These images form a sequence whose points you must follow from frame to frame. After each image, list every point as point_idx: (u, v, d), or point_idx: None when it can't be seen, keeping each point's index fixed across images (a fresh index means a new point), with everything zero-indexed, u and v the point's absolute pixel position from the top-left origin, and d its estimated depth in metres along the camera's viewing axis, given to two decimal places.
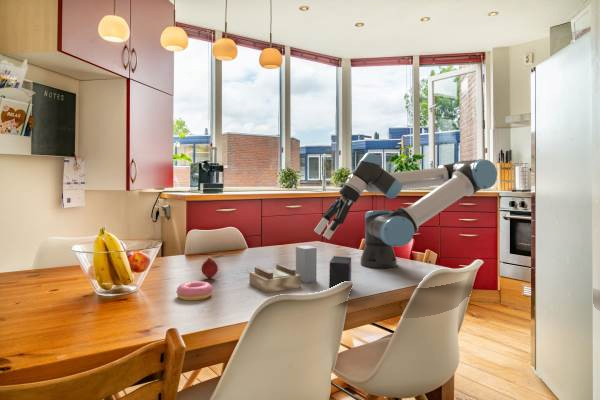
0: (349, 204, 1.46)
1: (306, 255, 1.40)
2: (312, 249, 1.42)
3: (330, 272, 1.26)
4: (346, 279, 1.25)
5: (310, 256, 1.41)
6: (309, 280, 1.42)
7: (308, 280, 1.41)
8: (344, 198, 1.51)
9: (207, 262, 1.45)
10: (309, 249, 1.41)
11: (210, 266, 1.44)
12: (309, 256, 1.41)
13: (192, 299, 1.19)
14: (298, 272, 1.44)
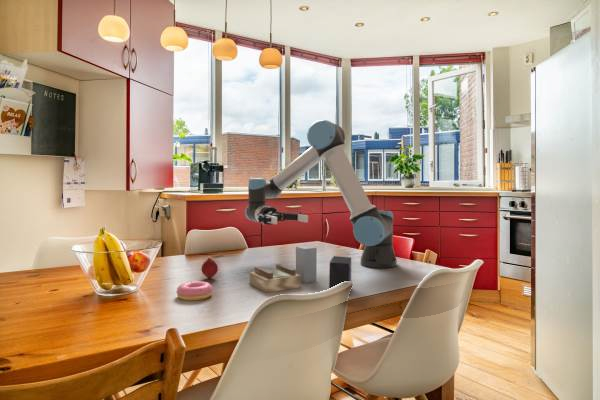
0: (258, 216, 1.61)
1: (306, 255, 1.40)
2: (312, 249, 1.42)
3: (330, 272, 1.26)
4: (346, 279, 1.25)
5: (310, 256, 1.41)
6: (309, 280, 1.42)
7: (308, 280, 1.41)
8: None
9: (207, 262, 1.45)
10: (309, 249, 1.41)
11: (210, 266, 1.44)
12: (309, 256, 1.41)
13: (192, 299, 1.19)
14: (298, 272, 1.44)
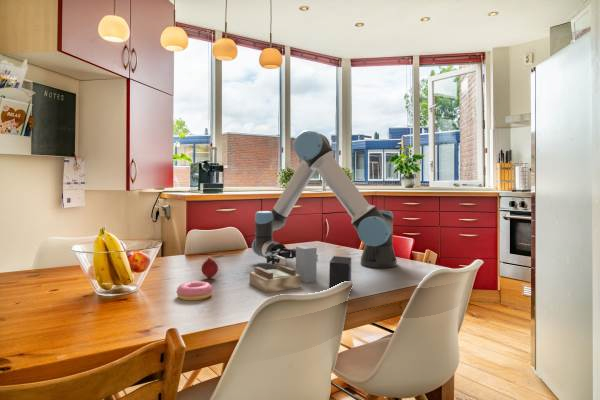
0: (266, 254, 1.55)
1: (306, 255, 1.40)
2: (312, 249, 1.42)
3: (330, 272, 1.26)
4: (346, 279, 1.25)
5: (310, 256, 1.41)
6: (309, 280, 1.42)
7: (308, 280, 1.41)
8: None
9: (207, 262, 1.45)
10: (309, 249, 1.41)
11: (210, 266, 1.44)
12: (309, 256, 1.41)
13: (192, 299, 1.19)
14: (298, 272, 1.44)
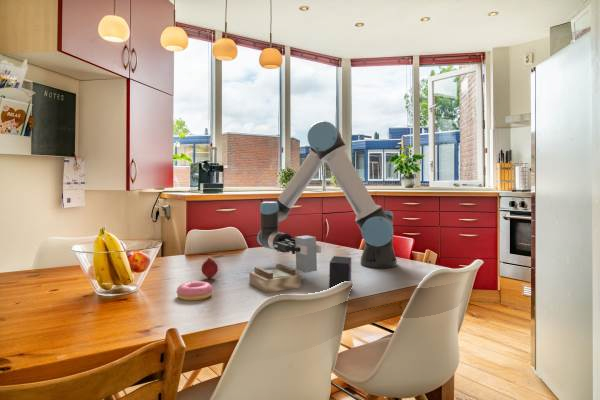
0: (276, 245, 1.49)
1: (305, 245, 1.40)
2: (311, 239, 1.41)
3: (330, 272, 1.26)
4: (346, 279, 1.25)
5: (310, 246, 1.41)
6: (309, 270, 1.41)
7: (308, 270, 1.41)
8: None
9: (207, 262, 1.45)
10: (308, 239, 1.40)
11: (210, 266, 1.44)
12: (308, 245, 1.41)
13: (192, 299, 1.19)
14: (298, 262, 1.44)
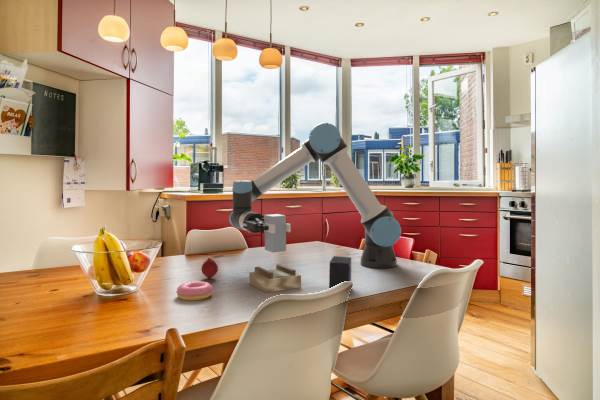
0: (245, 224, 1.42)
1: (274, 223, 1.32)
2: (281, 217, 1.33)
3: (330, 272, 1.26)
4: (346, 279, 1.25)
5: (279, 224, 1.33)
6: (278, 250, 1.34)
7: (277, 250, 1.33)
8: None
9: (207, 262, 1.45)
10: (277, 217, 1.33)
11: (210, 266, 1.44)
12: (277, 224, 1.33)
13: (192, 299, 1.19)
14: (267, 242, 1.36)
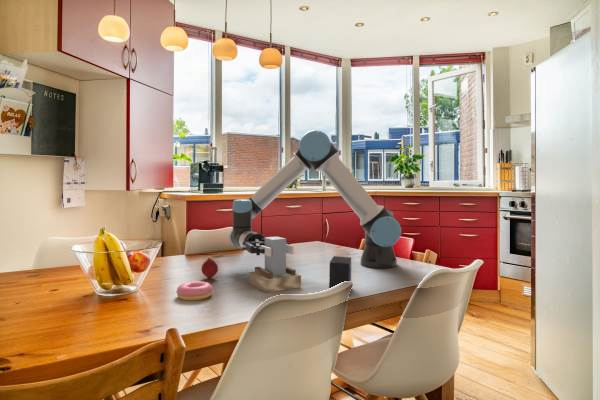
0: (244, 245, 1.42)
1: (274, 247, 1.33)
2: (281, 240, 1.34)
3: (330, 272, 1.26)
4: (346, 279, 1.25)
5: (279, 248, 1.34)
6: (278, 273, 1.34)
7: (277, 273, 1.34)
8: None
9: (207, 262, 1.45)
10: (278, 240, 1.33)
11: (210, 266, 1.44)
12: (277, 247, 1.33)
13: (192, 299, 1.19)
14: (267, 264, 1.36)
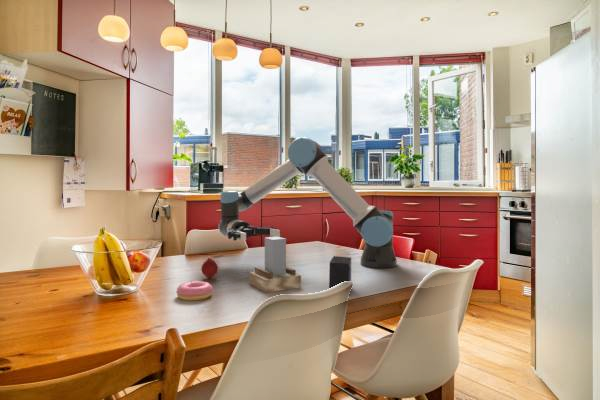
0: None
1: (274, 247, 1.33)
2: (281, 240, 1.34)
3: (330, 272, 1.26)
4: (346, 279, 1.25)
5: (279, 248, 1.34)
6: (278, 273, 1.34)
7: (277, 273, 1.34)
8: None
9: (207, 262, 1.45)
10: (278, 240, 1.33)
11: (210, 266, 1.44)
12: (277, 247, 1.33)
13: (192, 299, 1.19)
14: (267, 264, 1.36)
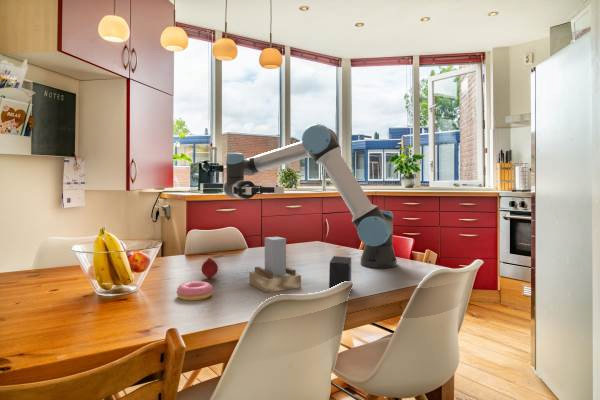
0: None
1: (274, 247, 1.33)
2: (281, 240, 1.34)
3: (330, 272, 1.26)
4: (346, 279, 1.25)
5: (279, 248, 1.34)
6: (278, 273, 1.34)
7: (277, 273, 1.34)
8: None
9: (207, 262, 1.45)
10: (278, 240, 1.33)
11: (210, 266, 1.44)
12: (277, 247, 1.33)
13: (192, 299, 1.19)
14: (267, 264, 1.36)
